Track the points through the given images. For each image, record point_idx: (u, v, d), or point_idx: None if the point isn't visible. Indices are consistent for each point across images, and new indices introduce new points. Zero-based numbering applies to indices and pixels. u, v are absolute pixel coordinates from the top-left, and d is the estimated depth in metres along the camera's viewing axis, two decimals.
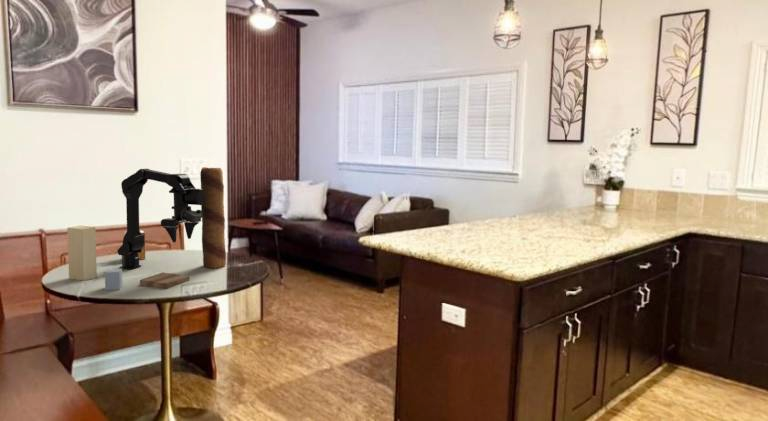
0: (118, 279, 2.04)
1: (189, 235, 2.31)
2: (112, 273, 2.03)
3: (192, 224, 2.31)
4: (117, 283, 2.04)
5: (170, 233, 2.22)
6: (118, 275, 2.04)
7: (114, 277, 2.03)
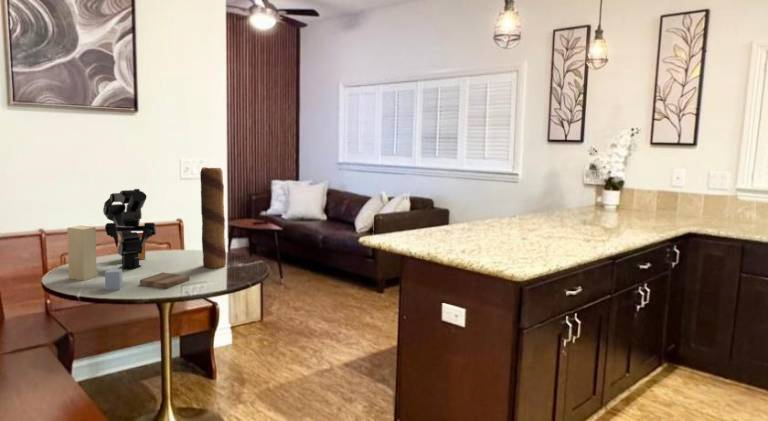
0: (118, 279, 2.04)
1: (141, 242, 2.21)
2: (112, 273, 2.03)
3: None
4: (117, 283, 2.04)
5: None
6: (118, 275, 2.04)
7: (114, 277, 2.03)
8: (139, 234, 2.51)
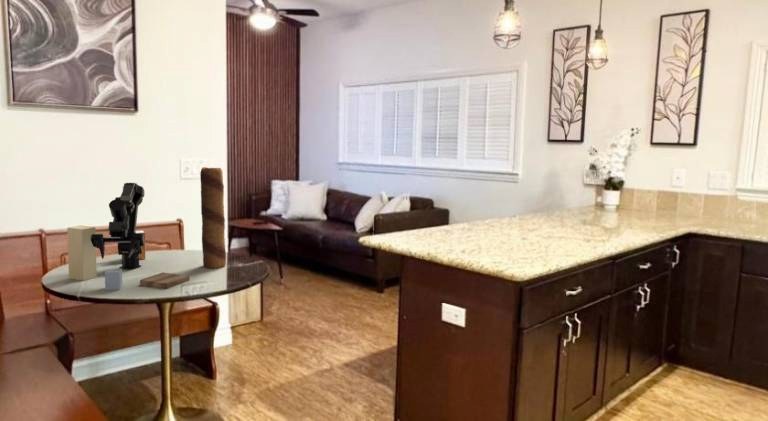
0: (118, 279, 2.04)
1: (128, 253, 2.11)
2: (112, 273, 2.03)
3: None
4: (117, 283, 2.04)
5: None
6: (118, 275, 2.04)
7: (114, 277, 2.03)
8: None
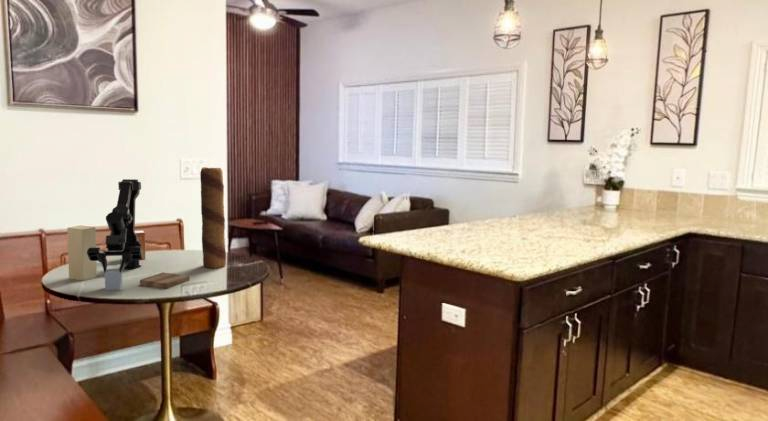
0: (118, 279, 2.04)
1: (120, 267, 2.05)
2: (112, 273, 2.03)
3: None
4: (117, 283, 2.04)
5: None
6: (118, 275, 2.04)
7: (114, 277, 2.03)
8: (139, 234, 2.51)
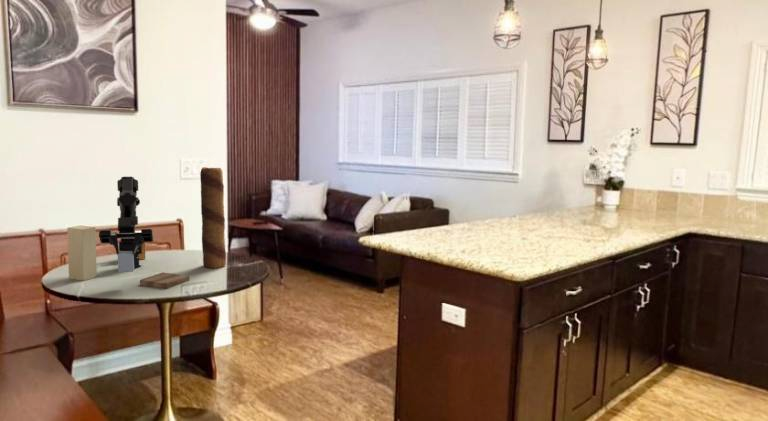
0: (131, 261, 2.05)
1: (132, 249, 2.06)
2: (125, 255, 2.04)
3: (134, 238, 2.08)
4: (130, 265, 2.05)
5: (115, 247, 2.06)
6: (131, 257, 2.04)
7: (127, 259, 2.04)
8: None
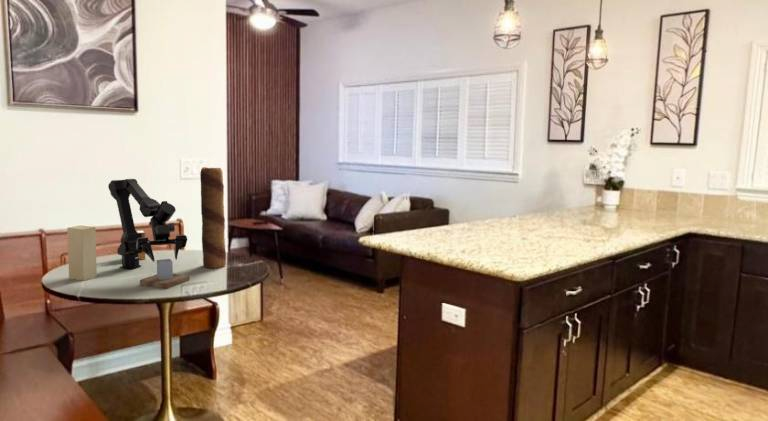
0: (171, 268, 2.14)
1: (175, 255, 2.16)
2: (166, 263, 2.13)
3: (175, 244, 2.18)
4: (170, 272, 2.14)
5: (148, 254, 2.13)
6: (171, 264, 2.14)
7: (167, 267, 2.13)
8: None
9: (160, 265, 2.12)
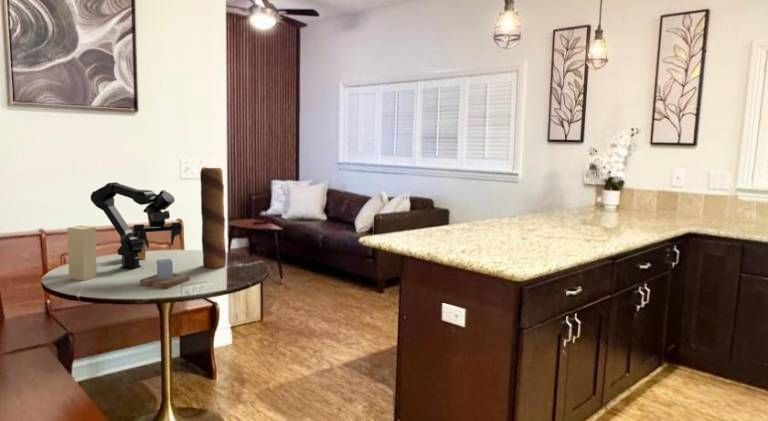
0: (171, 268, 2.14)
1: (171, 241, 2.24)
2: (166, 263, 2.13)
3: (171, 230, 2.25)
4: (170, 272, 2.14)
5: (143, 240, 2.20)
6: (171, 264, 2.14)
7: (167, 267, 2.13)
8: None
9: (160, 265, 2.12)
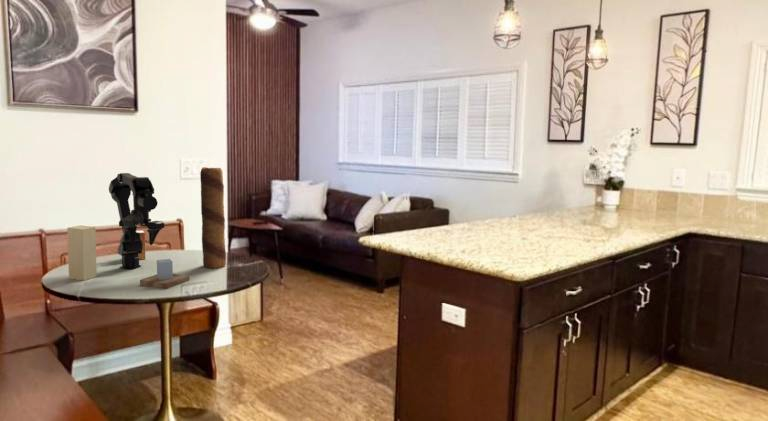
0: (171, 268, 2.14)
1: None
2: (166, 263, 2.13)
3: None
4: (170, 272, 2.14)
5: None
6: (171, 264, 2.14)
7: (167, 267, 2.13)
8: None
9: (160, 265, 2.12)
